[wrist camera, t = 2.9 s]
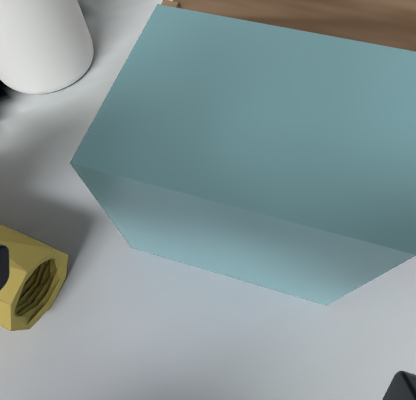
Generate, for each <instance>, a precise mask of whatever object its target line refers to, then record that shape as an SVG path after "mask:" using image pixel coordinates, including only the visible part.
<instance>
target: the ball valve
mask: <svg viewBox="0 0 416 400" xmlns="http://www.w3.org/2000/svg"><path fill="white" fill-rule="evenodd" d="M0 244H3V245H5V246H7V247H8V249H9V267H10V275H9V279H8V281H7V283H6V285H5V286H4V287H3V288H2V289H1V290H0V326H2V327H4V328H6V329H8V330H10V331H15V330H25V329H30V328H31V327H32V326H33V325H34V324H35V323H36V322H37V321H38V320H39V319H40V318H41V316H42V315H43V314H44V313H45V312H46V311H47V310H48V309H49V308H50V307H51V306H52V304H53V302H54V300H55V298H56V296H57V295H58V293H59V291H60V289H61V287H62V285H63V283H64V281H65V279H66V273H67V263H68V254H66V253H64V252H62V251H60V250H57V249H55V248H53V247H51V246H49V245H47V244H44V243H42V242H40V241H38V240H36V239H34V238H31V237H29V236H27V235H25V234H23V233H20V232H18V231H16V230H13V229H11V228H8V227H6V226H3V225H1V224H0Z"/></svg>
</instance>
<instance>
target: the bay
mask: <svg viewBox="0 0 416 400" xmlns="http://www.w3.org/2000/svg"><path fill="white" fill-rule="evenodd" d="M161 5H165V6H170V7H176V8H181V9H187V10H192V11H198V12H203V13H208V14H214V15H219V16H225V17H230V18H236V19H241V20H247V21H252V22H257V23H263V24H268V25H274V26H279V27H285V28H290V29H295V30H301V31H306V32H312V33H317V34H323V35H328V36H334V37H339V38H344V39H350V40H355V41H361V42H366V43H372V44H377V45H383V46H388V47H393V48H399V49H404V50H410V51H415V52H416V0H173V1H169V0H163V2H162V4H161Z"/></svg>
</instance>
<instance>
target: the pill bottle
mask: <svg viewBox="0 0 416 400" xmlns="http://www.w3.org/2000/svg"><path fill="white" fill-rule="evenodd" d="M93 54H94V49H93V43H92V39H91V36H90V33H89V30H88V28H87V25H86V22H85V20H84V17H83V14H82V12H81V9H80V6H79V4H78V1H77V0H0V80H1V81H2V82H3V83H5V84H6V85H7V86H9V87H10V88H12V89H14V90H16V91H19V92H22V93H27V94H45V93H51V92H55V91H58V90H61V89H63V88H65V87H67V86H69V85H71V84H73V83H74V82H76V81H77V80H78V79H80V78H81V77H82V76H83V75H84V74H85V72H86V71H87V70H88V68H89V67H90V65H91V62H92V59H93Z"/></svg>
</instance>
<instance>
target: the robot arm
mask: <svg viewBox="0 0 416 400" xmlns="http://www.w3.org/2000/svg"><path fill="white" fill-rule="evenodd" d="M9 275H10V267H9V249H8V247H7V246H5V245H3V244H0V290H1V289H2V288H3V287H4V286H5V285H6V283H7V281H8V279H9ZM383 400H416V375H414V374H411V373H408V372H405V371H399V372H397V373H396V374H395V376H394V378H393V380H392V382H391V384H390V386H389V388H388V389H387V391H386V393H385V395H384V397H383Z"/></svg>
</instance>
